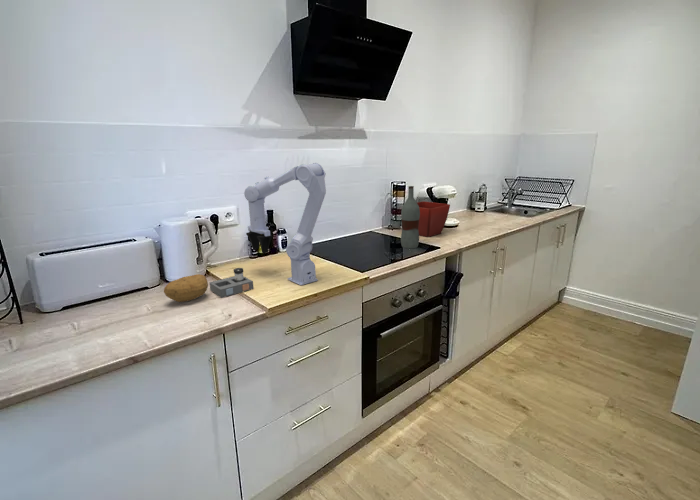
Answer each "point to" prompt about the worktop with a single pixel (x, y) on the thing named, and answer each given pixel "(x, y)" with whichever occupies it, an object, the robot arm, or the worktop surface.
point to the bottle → (410, 221)
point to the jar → (238, 275)
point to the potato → (186, 288)
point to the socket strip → (230, 286)
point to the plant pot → (432, 218)
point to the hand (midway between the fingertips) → (260, 251)
